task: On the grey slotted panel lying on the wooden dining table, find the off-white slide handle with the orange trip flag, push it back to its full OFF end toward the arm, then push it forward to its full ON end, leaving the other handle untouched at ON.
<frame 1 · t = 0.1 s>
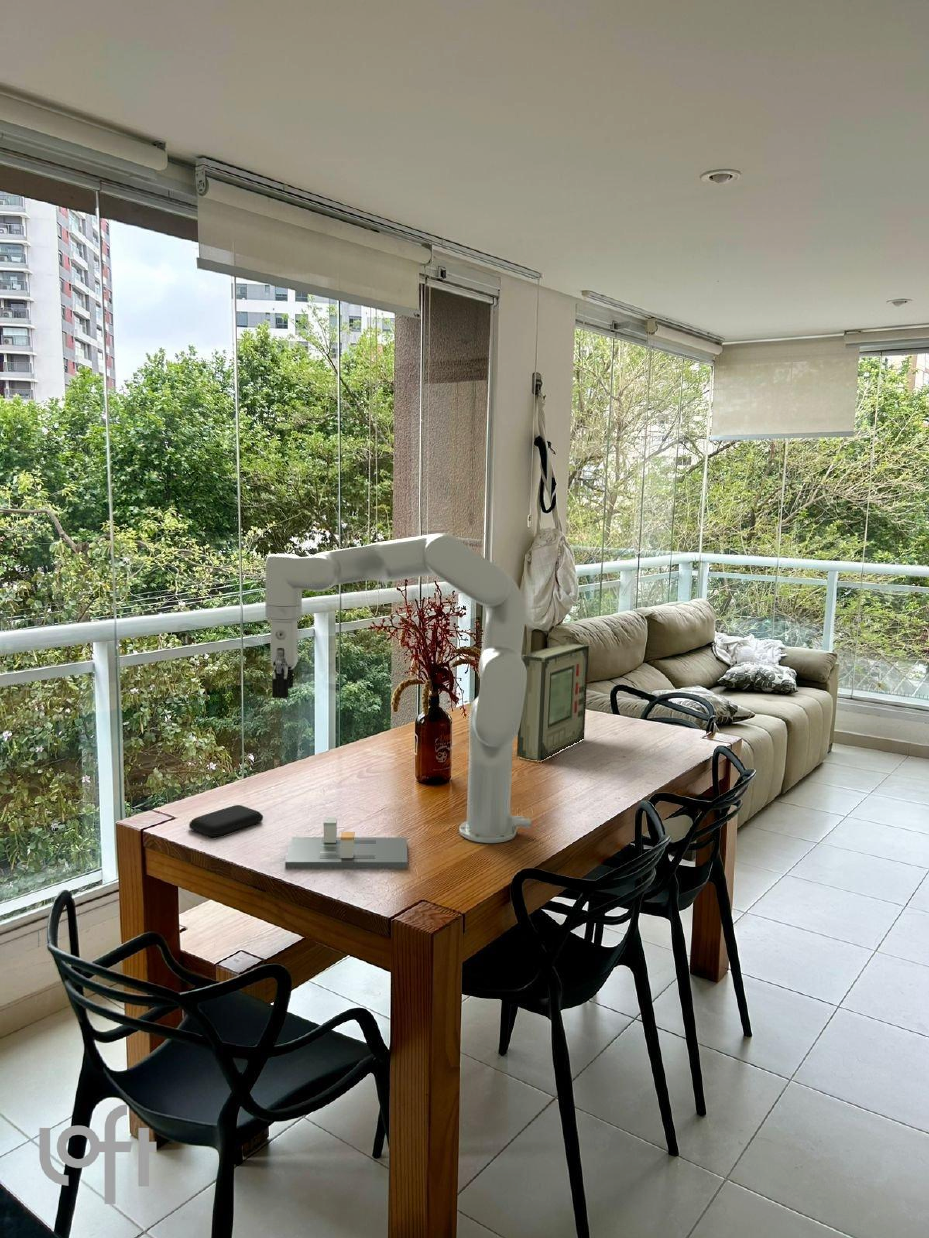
hand: (282, 692, 193), 31 cm above the table, tool pointing down, fingers open, 9 cm apart
breaker tripped: (347, 844, 181), point 4 cm above the table, slide at 4.0 cm
carrying case or bag: (225, 828, 200), on the table
control panel: (551, 749, 270), on the table
grey slotted panel: (348, 856, 185), on the table
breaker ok: (330, 829, 188), point 4 cm above the table, slide at 8.0 cm
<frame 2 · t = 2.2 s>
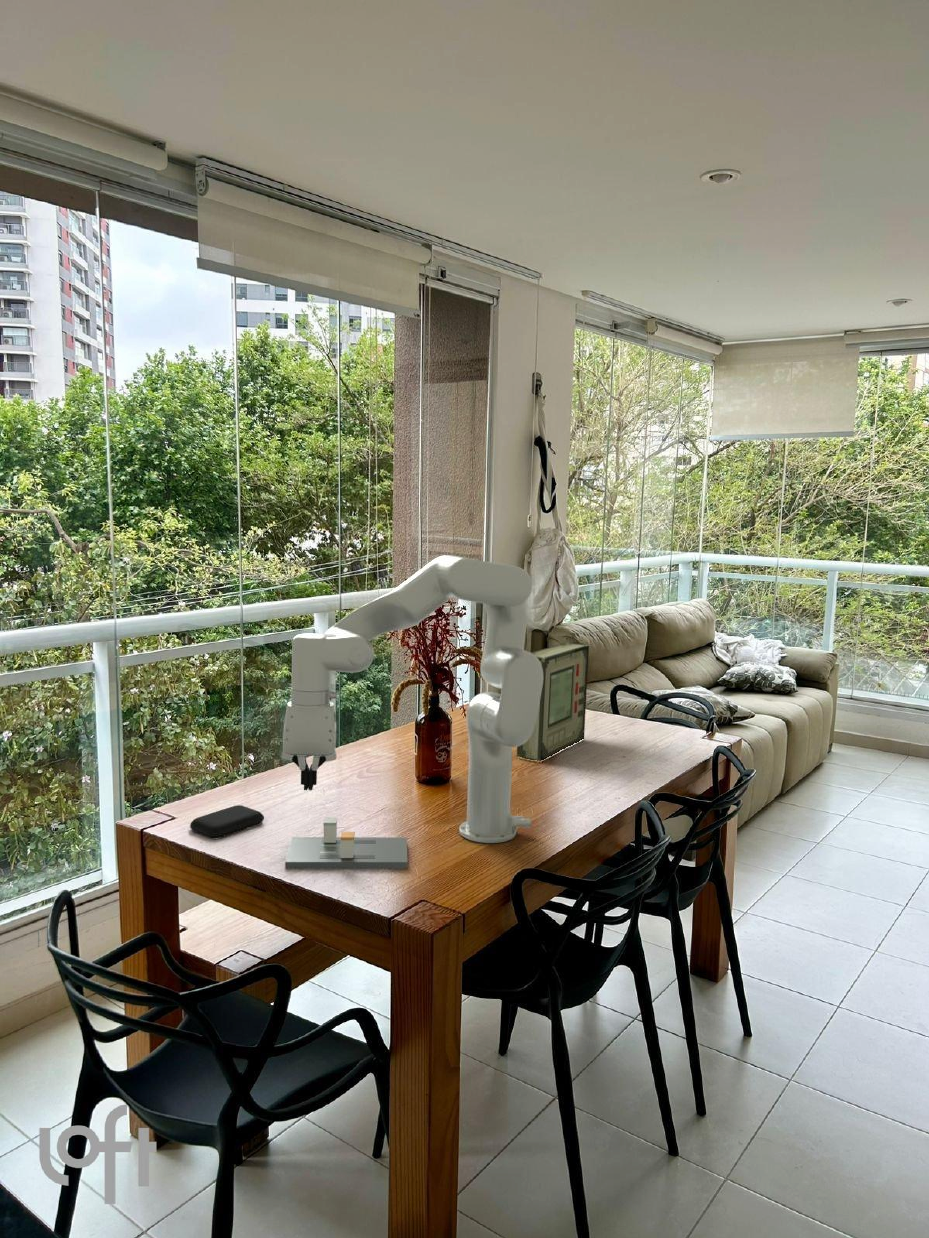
hand: (308, 788, 178), 16 cm above the table, tool pointing down, fingers closed
nothing on the table moved.
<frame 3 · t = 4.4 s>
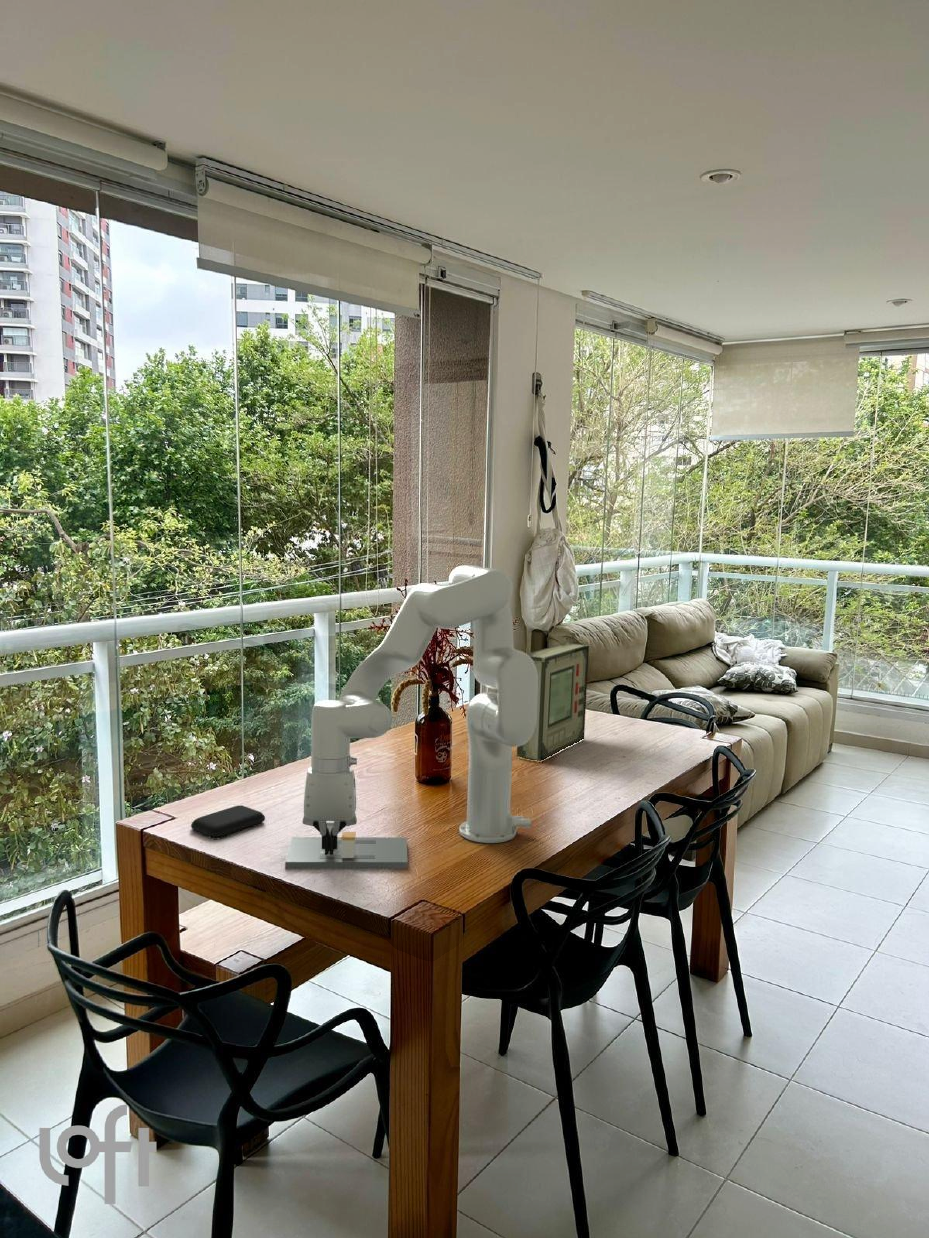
hand: (329, 852, 181), 2 cm above the table, tool pointing down, fingers closed
breaker tripped: (348, 844, 181), point 4 cm above the table, slide at 3.8 cm, touching gripper
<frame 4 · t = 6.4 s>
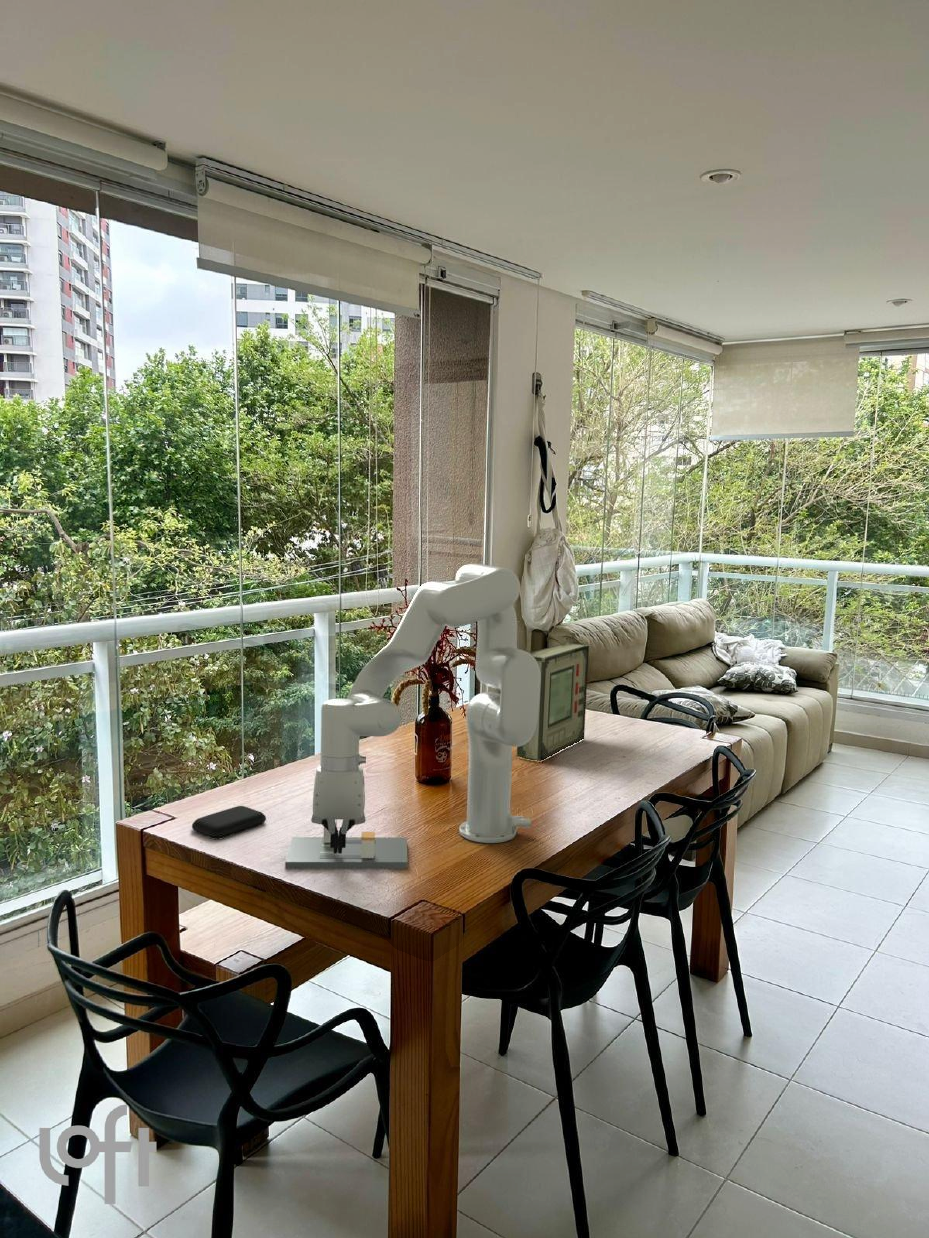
hand: (338, 850, 181), 3 cm above the table, tool pointing down, fingers closed
breaker tripped: (367, 844, 181), point 4 cm above the table, slide at -0.1 cm
everything else where it was.
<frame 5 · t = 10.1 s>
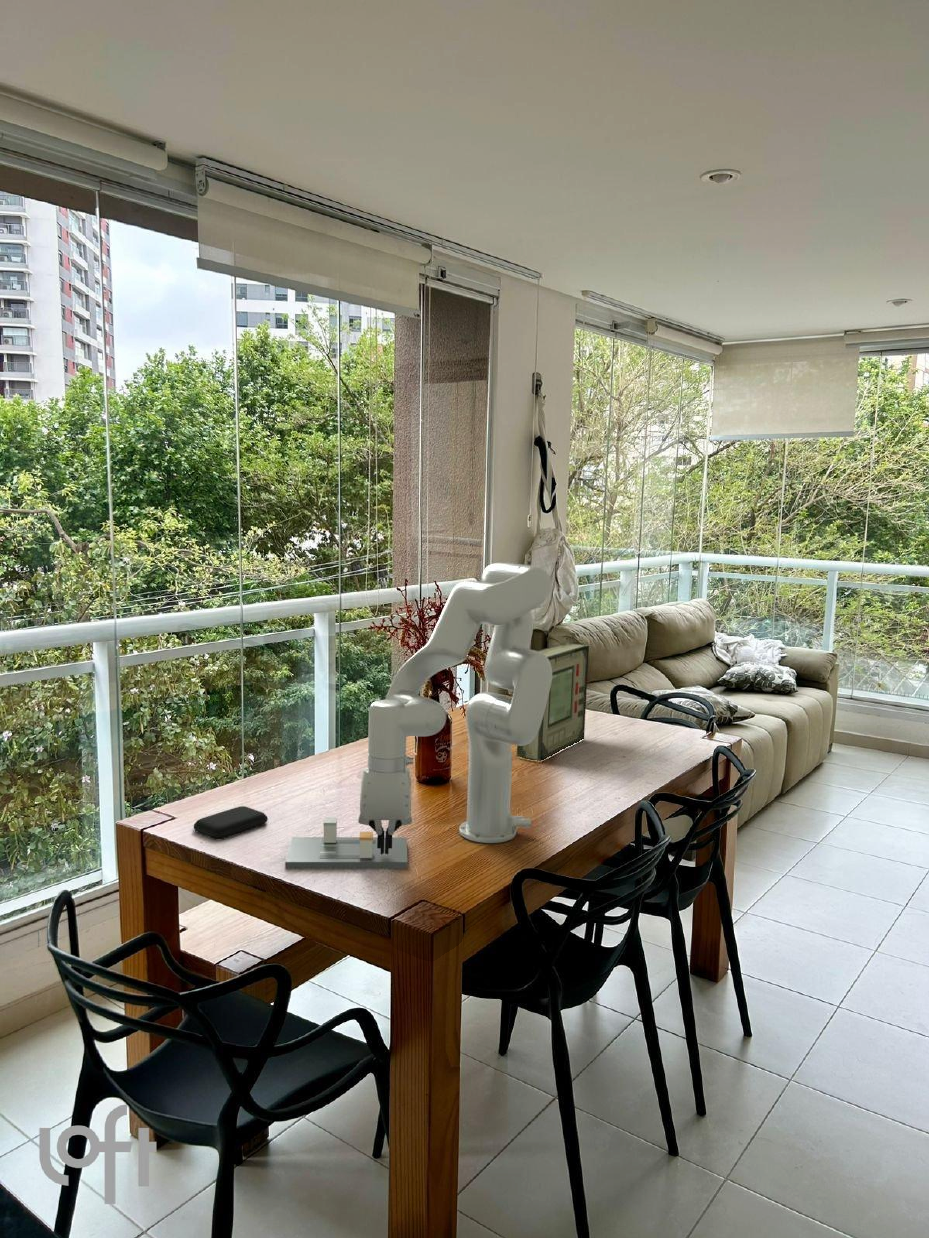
hand: (384, 851, 181), 3 cm above the table, tool pointing down, fingers closed
breaker tripped: (366, 844, 181), point 4 cm above the table, slide at 0.3 cm, touching gripper
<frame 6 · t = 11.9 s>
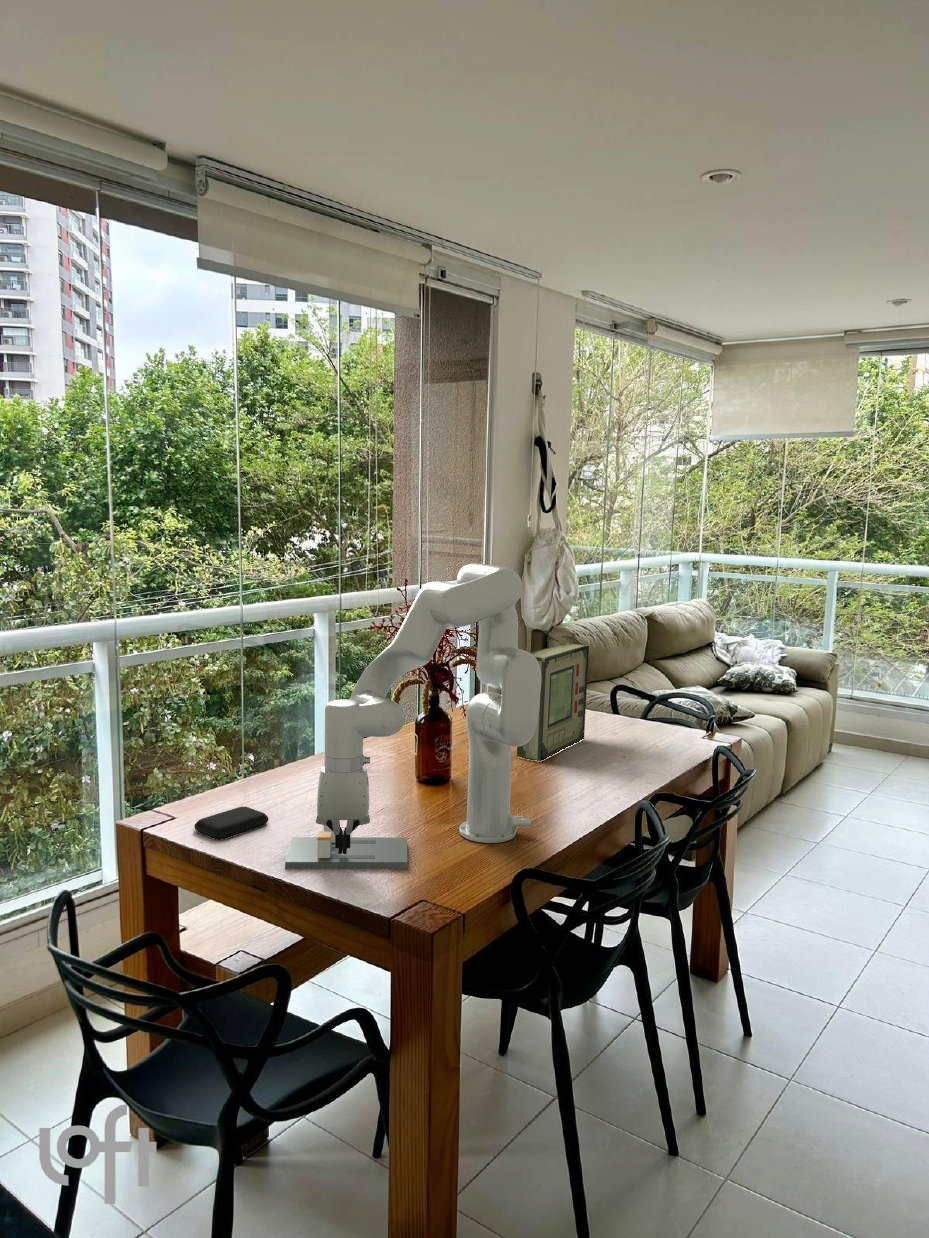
hand: (342, 851, 181), 3 cm above the table, tool pointing down, fingers closed
breaker tripped: (324, 844, 180), point 4 cm above the table, slide at 8.6 cm, touching gripper
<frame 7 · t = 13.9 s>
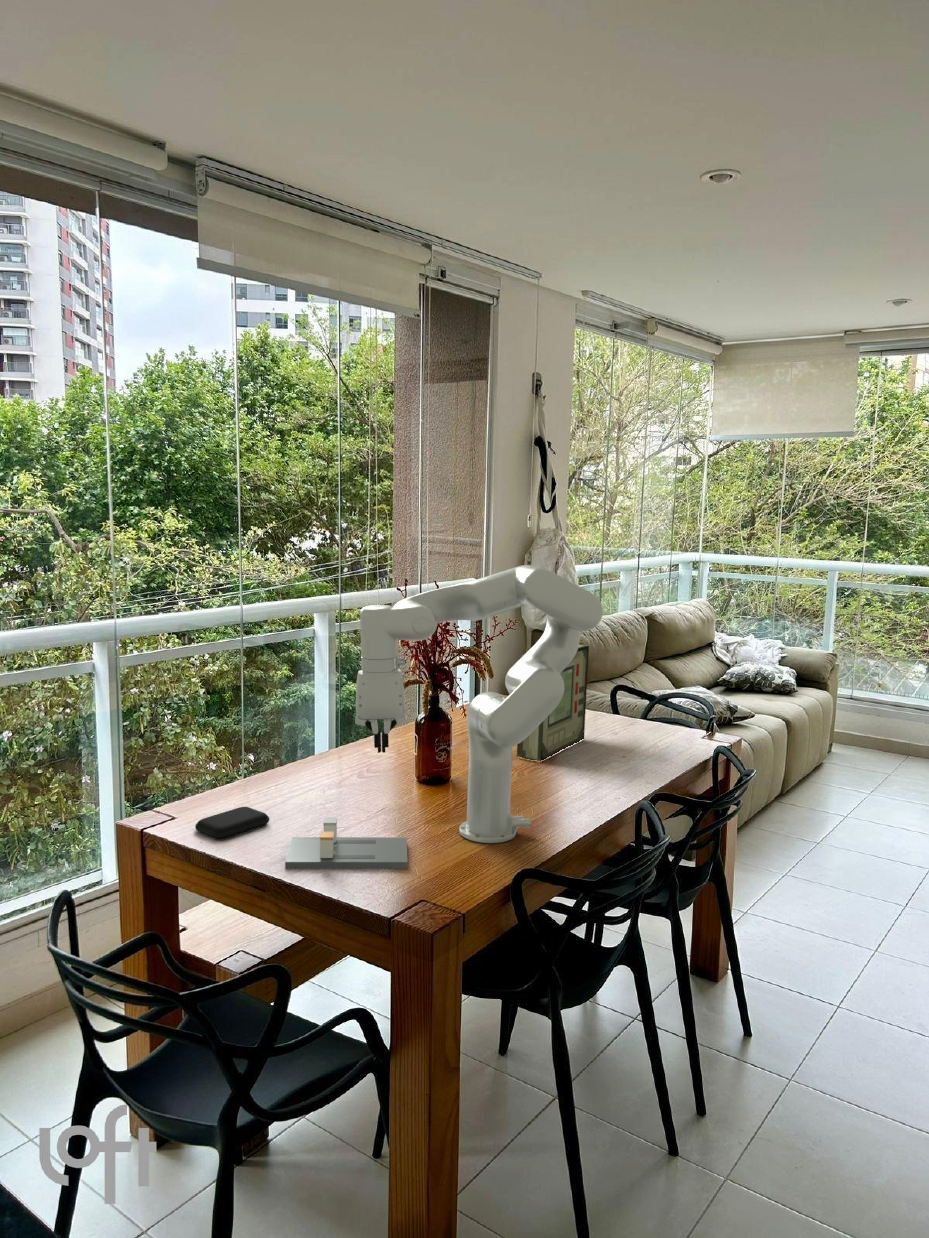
hand: (381, 750, 189), 20 cm above the table, tool pointing down, fingers closed
breaker tripped: (326, 844, 180), point 4 cm above the table, slide at 8.1 cm
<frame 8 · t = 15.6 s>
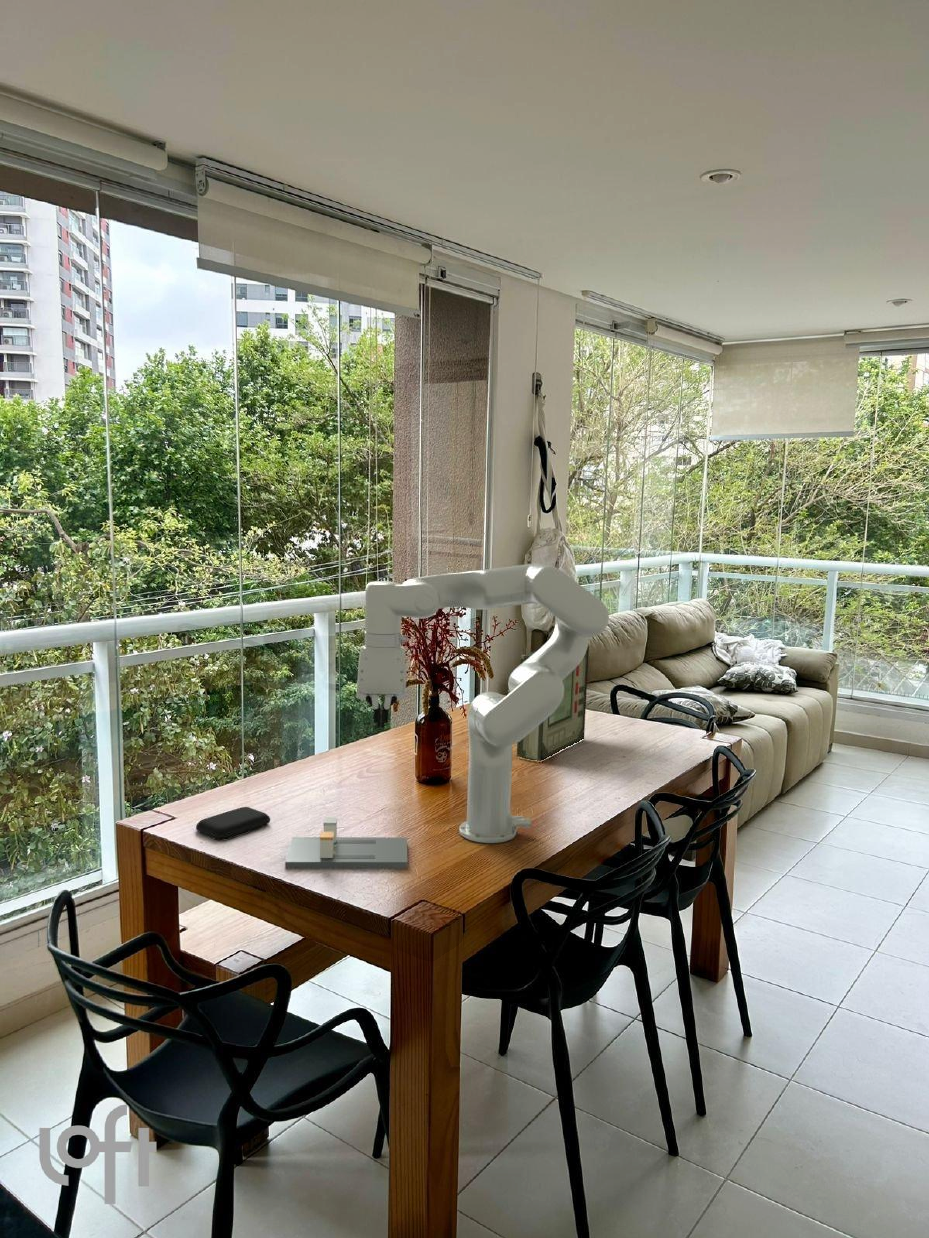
hand: (380, 726, 191), 25 cm above the table, tool pointing down, fingers closed
at the end: breaker tripped slide at 8.1 cm; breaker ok slide at 8.0 cm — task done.
